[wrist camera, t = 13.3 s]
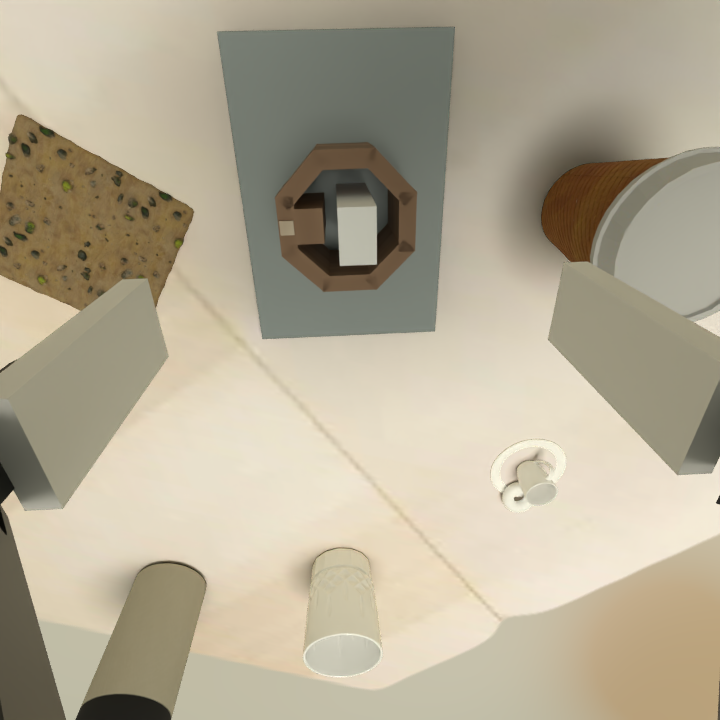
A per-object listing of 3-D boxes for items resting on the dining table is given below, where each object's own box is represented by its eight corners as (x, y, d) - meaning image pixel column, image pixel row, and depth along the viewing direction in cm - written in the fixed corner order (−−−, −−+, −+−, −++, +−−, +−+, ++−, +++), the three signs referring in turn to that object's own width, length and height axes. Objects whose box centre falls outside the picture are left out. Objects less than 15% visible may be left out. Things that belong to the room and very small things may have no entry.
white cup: (294, 561, 51) (286, 653, 42) (351, 534, 49) (355, 624, 41) (332, 594, 54) (332, 685, 46) (386, 570, 53) (397, 660, 44)
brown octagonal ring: (403, 140, 29) (419, 145, 23) (401, 260, 33) (414, 289, 27) (280, 144, 29) (268, 151, 23) (293, 265, 32) (285, 295, 27)
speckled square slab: (-15, 268, 33) (-24, 272, 32) (19, 109, 28) (10, 109, 28) (144, 338, 37) (140, 343, 36) (198, 207, 32) (195, 210, 31)
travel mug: (121, 576, 51) (26, 782, 35) (176, 551, 49) (103, 756, 33) (167, 610, 54) (100, 812, 38) (220, 588, 53) (172, 789, 37)
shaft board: (449, 31, 27) (507, -13, 18) (431, 323, 37) (463, 391, 28) (222, 35, 27) (165, -7, 18) (265, 331, 37) (242, 402, 27)
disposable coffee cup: (568, 113, 30) (695, 112, 19) (673, 172, 32) (838, 198, 22) (495, 242, 34) (568, 298, 24) (593, 286, 36) (699, 355, 26)
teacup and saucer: (517, 507, 49) (531, 538, 46) (467, 477, 47) (479, 506, 43) (579, 459, 46) (600, 488, 43) (530, 423, 44) (548, 450, 40)
